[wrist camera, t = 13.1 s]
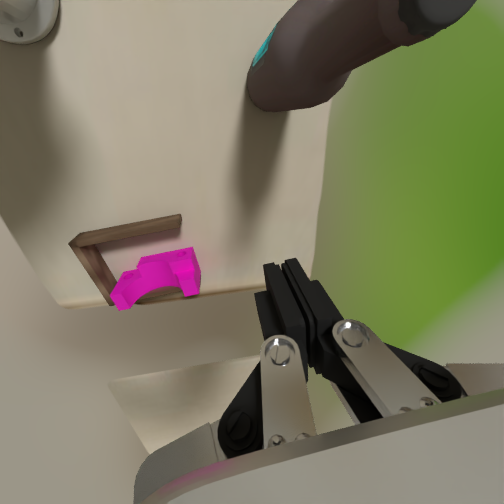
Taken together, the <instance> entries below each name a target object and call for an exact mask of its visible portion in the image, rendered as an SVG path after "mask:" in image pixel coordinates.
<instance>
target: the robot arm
mask: <svg viewBox="0 0 504 504" xmlns="http://www.w3.org/2000/svg"><path fill="white" fill-rule="evenodd" d="M58 7H59V0H0V40H3V41H6V42H9V43H16V44H30V43H34V42H36V41H39V40H41V39H42V38H44V37H45V36H46V35H48V33H49V32H50V31H51V29H52V28H53V26H54V24H55V21H56V18H57V14H58ZM22 33H23V36H22ZM263 268H264V275H265V282H266V289H267V291H262V292H258V293H254V295H255V301H256V306H257V311H258V315H259V320H260V324H261V328H262V332H263V336H264V341H265V342H264V343H263V345H262V347H261V351H260V361H259V363H258V364H257V366H256V367H255V369H254V370H253V372H252V373H251V374H250V376H249V377H248V379H247V380H246V382H245V383H244V385H243V386H242V387H241V389H240V390H239V392H238V393H237V395H236V396H235V398H234V399H233V400H232V402H231V403H230V405H229V406H228V408H227V409H226V411H225V412H224V413H223V415H222V417H221V419H219V420H217V421H216V422H214V423H212V424H210V423H209V422H208V423H207V424H205V425H203V426H201V427H199V428H197V429H195V430H193V431H192V432H190V433H188V434H186V435H184V436H182V437H180V438H179V439H177V440H175V441H173V442H171V443H169V444H167V445H165V446H164V447H162V448H160V449H158V450H156V451H154V452H153V453H152V454H151V455H149V456H148V457H147V458H146V460H145V461H144V462H143V463H142V465H141V467H140V469H139V471H138V473H137V475H136V480H135V485H134V504H504V364H446V366H441V365H439V364H437V363H434V362H432V361H430V360H427V359H425V358H422V357H420V356H417V355H414V354H412V353H409V352H407V351H404V350H402V349H399V348H396V347H394V346H391V345H389V344H386V343H384V342H382V341H381V340H380V339H379V338H378V337H377V336H376V334H375V333H373V331H372V330H371V329H370V328H369V327H367V326H366V325H365V324H363V323H361V322H359V321H356V320H352V319H346V320H344V318H343V317H342V316H341V314H340V313H339V311H338V309H337V308H336V306H335V305H334V304H333V302H332V300H331V299H330V297H329V296H328V294H327V293H326V291H325V290H324V288H323V287H322V285H321V284H320V282H319V281H318V280H313V281H310V280H309V278H308V277H307V275H306V273H305V272H304V270H303V268H302V267H301V265H300V264H299V262H298V260H297V259H296V258H292V259H288V260H285V263H282V264H281V268H282V270H281V268H280V266H279V264H278V265H275V264H274V262H273V263H269V264H264V265H263ZM308 365H309V367H310V368H311V367H314V369H315V372H316V374H322V376H323V377H324V378H326V379H328V380H330V383H331V386H332V388H333V389H334V391H335V392H336V394H337V396H338V397H339V399H340V401H341V402H342V404H343V405H344V407H345V408H346V410H347V412H348V414H349V415H350V417H351V419H352V420H353V422H354V423H355V425H354V426H350V427H346V428H342V429H338V430H335V431H331V432H327V433H323V434H319V435H317V433H316V429H315V424H314V419H313V414H312V409H311V404H310V400H309V395H308V390H307V385H306V384H307V381H308Z"/></svg>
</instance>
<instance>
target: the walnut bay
mask: <svg viewBox="0 0 504 504" xmlns="http://www.w3.org/2000/svg"><path fill="white" fill-rule="evenodd" d="M181 221H182V217H181V214H177V215H172V216H166V217H161V218H156V219H151V220H145V221H140V222H135V223H130V224H125V225H119V226H114V227H109V228H104V229H99V230H93V231H88V232H83V233H80V234H78V235H77V236H76V237H75V238H74V239H73V240H71V241H70V242H69V243H68V244H69V246H70V247H71V249H72V250H73V252H74V253H75V255H76V256H77V258H78V259H79V261H80V262H81V264H82V265H83V267H84V268H85V270H86V271H87V273H88V274H89V276H90V277H91V279H92V280H93V282H94V283H95V285H96V286H97V288H98V289H99V291H100V292H101V294H102V295H103V297H104V298H105V300H106V301H107V303H108V304H109V306H114V305H115V303H114V302H113V300H112V299H111V297H110V294H111V293H112V291H113V289H114V287H115V286H116V284H117V281H116V280H115V278H114V276H113V275H112V273H111V271H110V270H109V268H108V266H107V265H106V263H105V261H104V259H103V258H102V256H101V254H100V253H99V251H98V249H97V248H96V246H95V244H97V243H102V242H108V241H113V240H118V239H123V238H128V237H133V236H138V235H143V234H149V233H154V232H159V231H164V230H169V229H174V228H179V227H180V224H181ZM200 283H201V275H200ZM180 291H183V290H182V289H180V288H179V287H175V286H164V287H160V288H157V289H154V290H152V291H149V292H148V293H146V294H144V295H143V296H141V297H140V298H139V299H138V300H142V299H147V298H151V297H156V296H161V295H166V294H170V293H175V292H180Z"/></svg>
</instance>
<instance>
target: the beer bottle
mask: <svg viewBox="0 0 504 504" xmlns="http://www.w3.org/2000/svg"><path fill="white" fill-rule="evenodd" d="M475 2H476V0H298V1H297V2H296V3H295V4H294V5H293V6H292V8H290V9H289V11H288V12H287V13H286V14H285V15H284V16H283V17H282V18H281V20H280V21H279V22H278V23H277V24H276V26H275V27H274V29H273V30H272V32H271V33H270V35H269V36H268V37H267V39H266V40H265V42H264V43H263V45H262V46H261V48H260V49H259V51H258V52H257V54H256V55H255V57H254V59H253V61H252V64H251V66H250V69H249V71H248V77H247V88H248V91H249V95H250V98H251V99H252V101H253V102H254V104H255V105H256V106H257V107H259V108H260V109H262V110H264V111H268V112H281V111H289V110H297V109H305V108H311V107H314V106H317V105H319V104H322V103H324V102H327V101H328V100H329V99H331V98H332V97H333V96H334V95H335V94H336V93H337V92H338V91H339V90H340V89H341V88H342V87H343V86H344V84H345V82H346V80H347V78H348V76H349V75H350V73H351V71H352V70H353V69H355V68H357V67H359V66H361V65H363V64H365V63H367V62H369V61H371V60H373V59H375V58H377V57H379V56H381V55H383V54H385V53H387V52H390V51H391V50H393V49H396V48H397V47H400V46H410V45H413V44H415V43H418V42H421V41H423V40H425V39H428V38H430V37H431V36H434V35H435V34H436V33H437V32H439V31H440V30H442V29H446V28H447V27H448V26H450V25H452V24H454V23H455V22H457V21H458V20H459V19H460V18H461V17H462V16H463V15H465V14H466V13H467V12H468V11H469V9H470V8H471V7H472V6H473V4H474V3H475Z"/></svg>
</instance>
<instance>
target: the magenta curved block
mask: <svg viewBox="0 0 504 504" xmlns="http://www.w3.org/2000/svg"><path fill="white" fill-rule="evenodd" d="M137 268H138V269H136V270H131V271H126V272H123V274H122V275H121V277H120V279H119V280H118V282H117V284H116V286H115V287H114V289H113V291H112V293H111V294H110V297H111V299H112V300H113V302H114V303H115V305H116V306H117V308H118V310H119V311H120V310H125V309H129V308H131V306H132V305H133V304H134V303H135V302H136V301H137V300H138V299H139V298H140V297H141V296H143V295H144V294H146V293H148V292H149V291H152V290H154V289H157V288H160V287H164V286H175V287H179V288H180V289H182V290H183V293H184V295H185V297H186V296H191V295H195V294H199V289H200V275H201V271H200V268H199V265H198V262H197V259H196V255H195V252H194V249H193V247H190V248H185V249H180V250H175V251H170V252H165V253H160V254H155V255H150V256H145V257H141V259H140V261H139V263H138V265H137Z"/></svg>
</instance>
